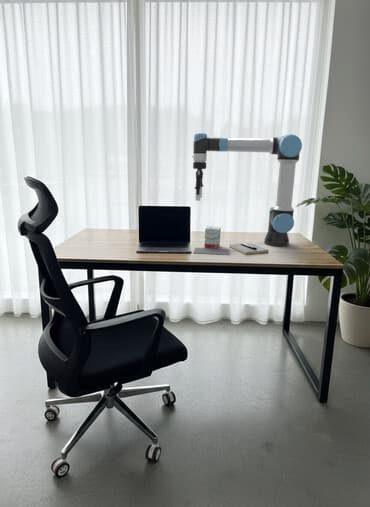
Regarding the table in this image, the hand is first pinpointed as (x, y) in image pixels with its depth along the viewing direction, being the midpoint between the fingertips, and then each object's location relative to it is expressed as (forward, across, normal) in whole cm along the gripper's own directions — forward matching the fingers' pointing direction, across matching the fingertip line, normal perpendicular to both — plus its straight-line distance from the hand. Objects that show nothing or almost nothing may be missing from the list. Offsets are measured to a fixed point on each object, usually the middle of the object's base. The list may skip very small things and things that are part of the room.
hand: (198, 199), depth 216 cm
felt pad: (+28, +12, +9) cm, 32 cm away
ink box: (+28, +2, +9) cm, 30 cm away
